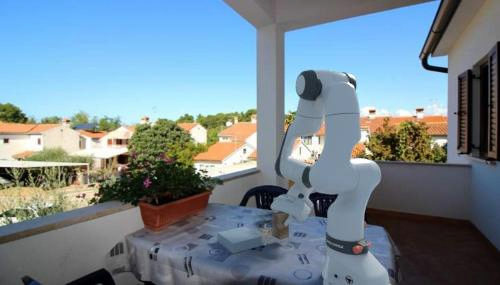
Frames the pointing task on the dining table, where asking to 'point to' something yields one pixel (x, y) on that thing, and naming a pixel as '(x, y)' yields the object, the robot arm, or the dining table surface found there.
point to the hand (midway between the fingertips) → (279, 223)
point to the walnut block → (280, 225)
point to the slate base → (239, 239)
